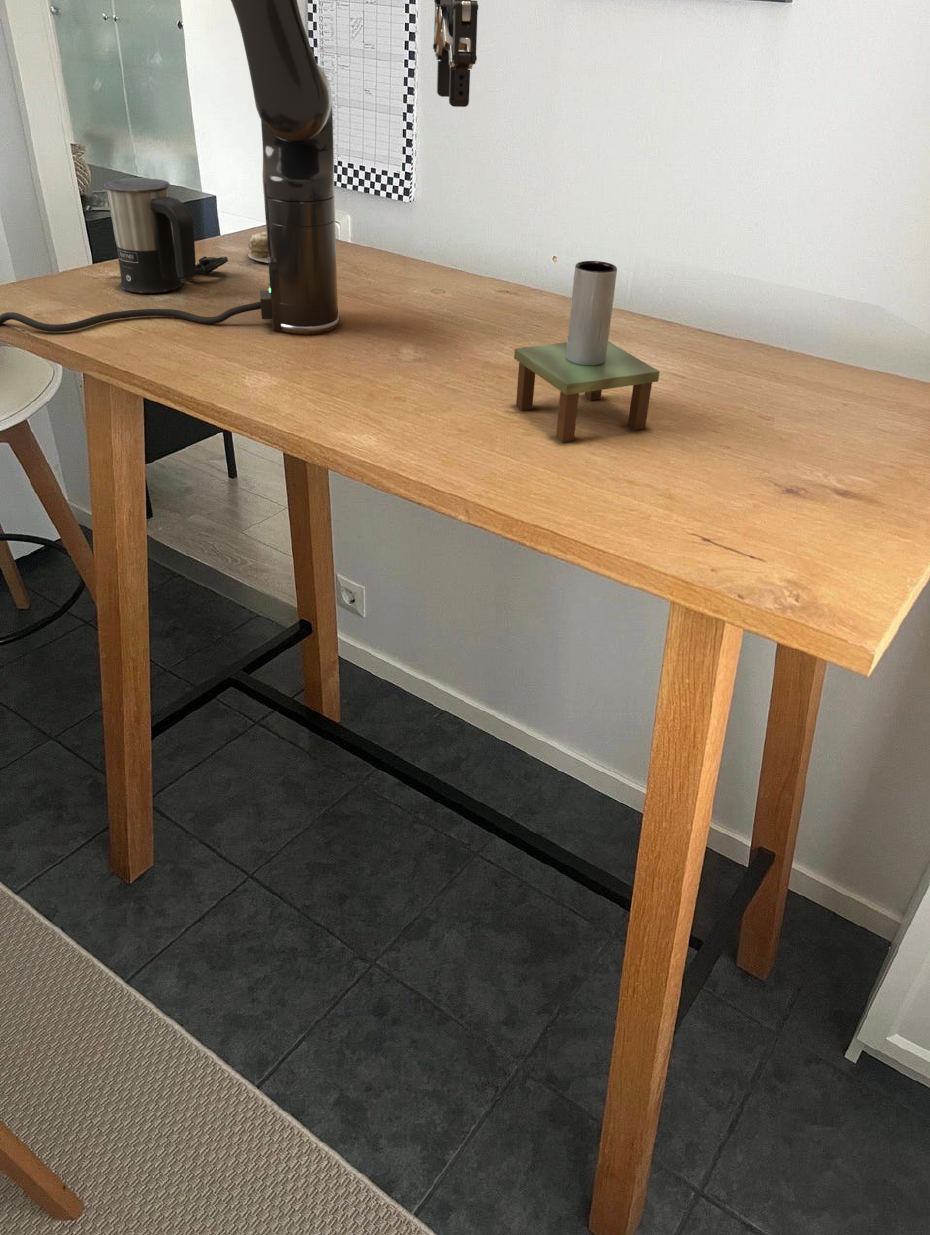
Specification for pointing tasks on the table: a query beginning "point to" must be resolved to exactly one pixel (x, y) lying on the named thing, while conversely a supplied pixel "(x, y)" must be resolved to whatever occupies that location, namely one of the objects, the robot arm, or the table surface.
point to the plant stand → (583, 382)
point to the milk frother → (153, 236)
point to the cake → (258, 247)
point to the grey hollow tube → (591, 312)
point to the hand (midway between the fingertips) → (452, 101)
